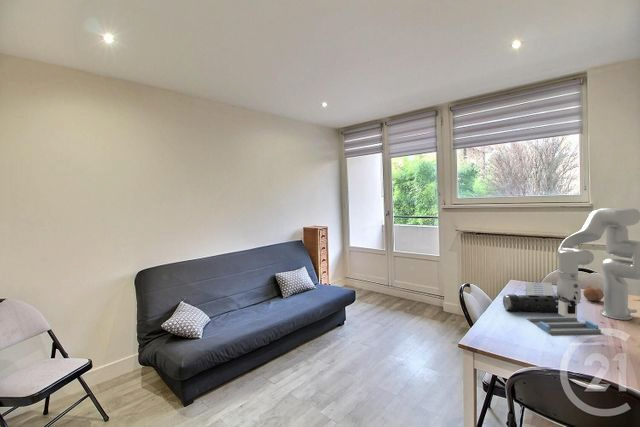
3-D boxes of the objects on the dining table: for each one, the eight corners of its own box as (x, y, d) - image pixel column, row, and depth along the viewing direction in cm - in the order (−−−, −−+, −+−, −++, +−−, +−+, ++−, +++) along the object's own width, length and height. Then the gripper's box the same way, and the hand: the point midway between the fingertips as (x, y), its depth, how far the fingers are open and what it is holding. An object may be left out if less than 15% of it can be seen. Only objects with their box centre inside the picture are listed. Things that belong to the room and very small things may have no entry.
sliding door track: (571, 319, 164) (571, 312, 163) (604, 336, 144) (604, 328, 144) (526, 320, 165) (526, 313, 165) (552, 337, 145) (552, 329, 145)
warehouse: (525, 290, 214) (525, 279, 214) (551, 293, 206) (551, 282, 206) (525, 303, 190) (525, 292, 189) (554, 307, 182) (554, 295, 181)
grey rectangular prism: (570, 313, 152) (570, 297, 152) (577, 316, 148) (577, 300, 148) (558, 313, 152) (558, 297, 152) (564, 316, 148) (564, 300, 148)
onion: (585, 303, 192) (578, 287, 196) (603, 301, 189) (595, 284, 193) (590, 303, 184) (582, 286, 188) (609, 300, 181) (601, 283, 185)
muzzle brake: (564, 316, 168) (564, 298, 167) (508, 315, 174) (508, 297, 173) (554, 310, 177) (554, 293, 177) (502, 308, 183) (502, 292, 182)
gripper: (590, 279, 141) (589, 318, 142) (563, 271, 157) (563, 305, 158) (573, 280, 141) (573, 318, 142) (548, 271, 158) (548, 305, 159)
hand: (567, 311), depth 150 cm, fingers closed on grey rectangular prism, 4 cm apart
